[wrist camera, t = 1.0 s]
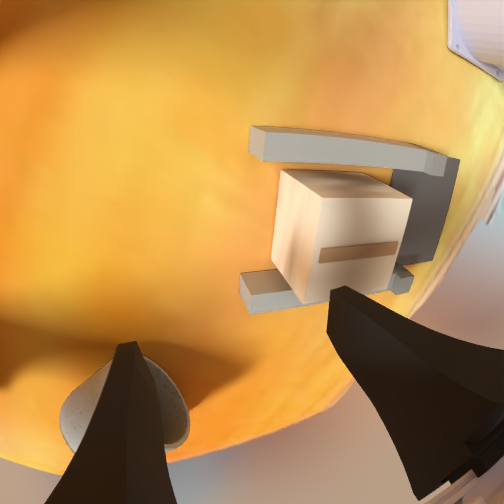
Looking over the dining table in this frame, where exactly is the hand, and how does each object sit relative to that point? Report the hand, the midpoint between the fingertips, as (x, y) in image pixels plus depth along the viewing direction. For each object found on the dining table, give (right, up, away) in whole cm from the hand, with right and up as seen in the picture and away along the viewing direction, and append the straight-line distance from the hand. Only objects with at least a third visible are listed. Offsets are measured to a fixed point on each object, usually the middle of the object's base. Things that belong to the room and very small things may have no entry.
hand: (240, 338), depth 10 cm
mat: (+14, +6, +14) cm, 21 cm away
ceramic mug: (-10, -8, +14) cm, 19 cm away
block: (+5, +5, +10) cm, 13 cm away
